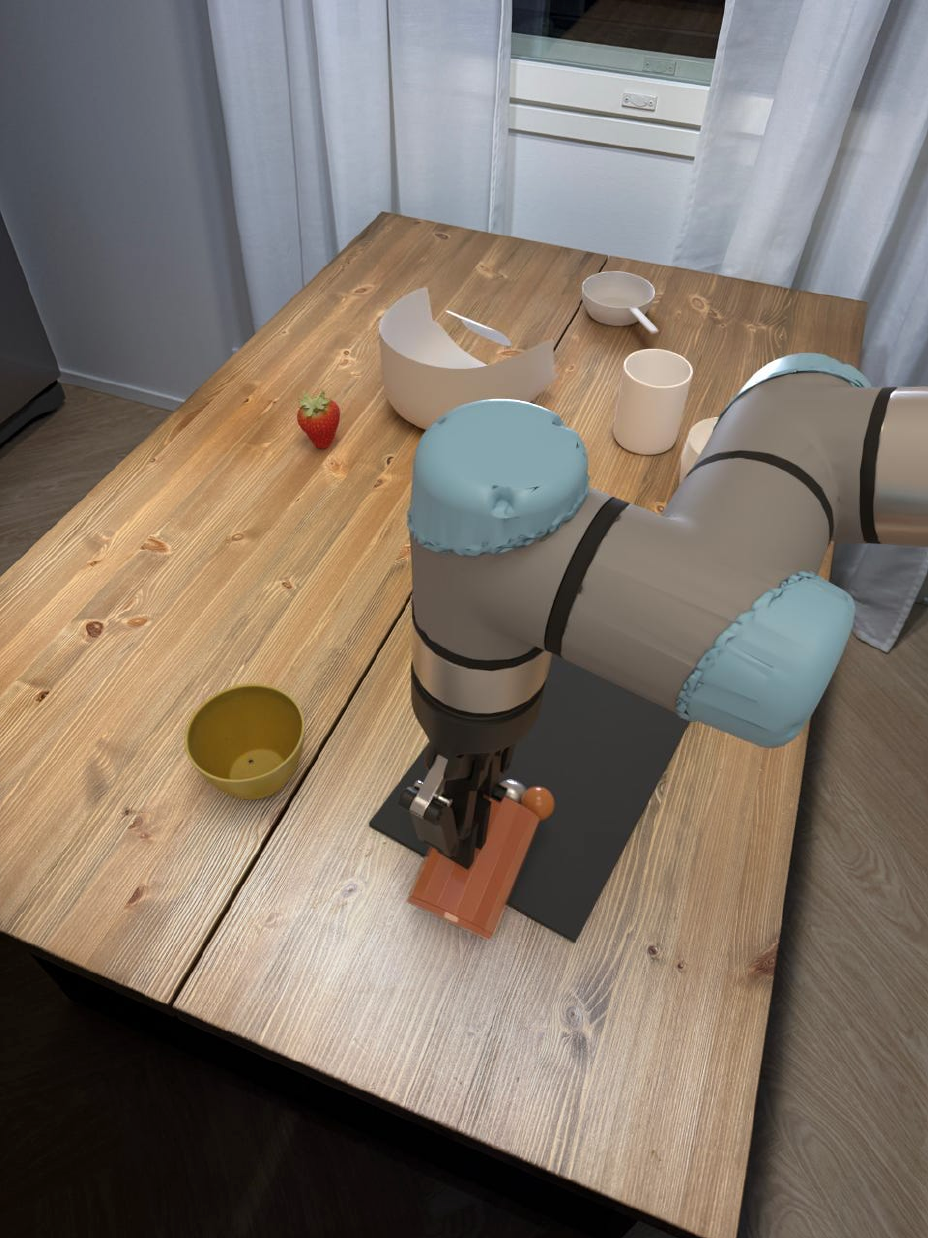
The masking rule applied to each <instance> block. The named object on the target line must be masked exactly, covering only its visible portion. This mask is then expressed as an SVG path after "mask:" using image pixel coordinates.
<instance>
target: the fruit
mask: <svg viewBox="0 0 928 1238" xmlns="http://www.w3.org/2000/svg"><path fill="white" fill-rule="evenodd" d="M302 395H303V396H304V399H305V400H302V398H300V396H298V398H297V399H298V400H297V402H298V404H299V405H300V406H299V405H298V406H297V407H298V411H297V412H296V419H297V424H298V426H299V427H300V429H301V430H302V431H303V432H304V433H305V434H306V435H307V437H308V438H309V440H310V442H311V443H312V444H313V445H314V446H315V448H317V449H321V450H323V449H327V448H329V447H330V446H331V445H332V443H333V441H334V439H335V437H336V433H337V431H338V427H339V424H340V418H341V409H340V406H339V405H338V403H336V401H334V400H333V399H332V397H329V398H328V397H325V396H326V393H325V391H324V390H323V389H321V392H320V393H319V395H317V396H315V397H311V396H310V394H308V392H307V391H305V389H304V388H303V389H302Z"/></svg>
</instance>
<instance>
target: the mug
mask: <svg viewBox="0 0 928 1238" xmlns="http://www.w3.org/2000/svg"><path fill="white" fill-rule="evenodd" d="M693 375H694V370H693V366H692V365H691V363H690V362H689V360H687V359H686V358H685V357H684V356H682V355H680V354H678V353H676V352H673V351H671V350H665V349H660V348H647V349H640V350H637V351H634V352H632V353H630V354H629V355H628V356H626V358H625V360H624V362H623V367H622V372H621V378H620V384H619V390H618V395H617V402H616V406H615V412H614V418H613V425H612V435H613V438H614V440H615V441H616V443H618V445H619V446H621V448H623V449H624V450H626V451H628V452H630V453H632V454H637V455H640V456H641V455H643V456H656V455H659V454H663V453H665V452H667V451H669V450H670V449H671V448H672V447H673V446H674V445H675V443H676V442H677V439H678V437H679V436H678V435H679V432H680V429H681V426H682V425H681V424H682V421H683V416H684V411H685V408H686V403H687V399H688V395H689V391H690V387H691V383H692V378H693Z"/></svg>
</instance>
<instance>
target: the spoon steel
mask: <svg viewBox="0 0 928 1238" xmlns="http://www.w3.org/2000/svg"><path fill="white" fill-rule="evenodd" d="M500 784H501V785H502V786H504V787H506V788H508V790H507V793H506V795H505V797H507V798H509V799H511V800H513V801H515V802H517V803H519V804H520V805H521V798H522V796H523V794H524V792H525V791H526V788H525V786H524V785H523V784H522V783H521V782H519V781H517V780H512V779H510V780H505V781H503V782H502V783H500Z"/></svg>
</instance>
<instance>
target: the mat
mask: <svg viewBox="0 0 928 1238" xmlns="http://www.w3.org/2000/svg"><path fill="white" fill-rule="evenodd" d="M690 723H691V722H690V721H687V720H686V719H683V718H680V717H679V715H678V714H677V713H675V712H673V711H671V710H669V709H667V708H664V707H662V706H660V705H658V704H656V703H654V702H652V701H650V700H648V699H646V698H644V697H642V696H640V695H637V694H635V693H633V692H631V691H629V690H627V689H625V688H623V687H621V686H619V685H617V684H615V683H612V682H610V681H608V680H606V679H604V678H602V677H600V676H598V675H596V674H594V673H592V672H590V671H588V670H585V669H583V668H581V667H579V666H577V665H575V664H573V663H571V662H569V661H567V660H565V659H563V658H561V657H559V656H557V655H555V654H553V653H552V657H551V663H550V668H549V671H548V675H547V678H546V683H545V688H544V693H543V698H542V703H541V708H540V712H539V715H538V718H537V720H536V722H535V724H534V725H533V727H532V728H531V730H530V731H529V732H528V733H527V734H526V735H525V736H524V737H523V738H522V739H521V740H519V741H518V742H516V745H515V749H514V752H513V756H512V760H511V763H510V764H511V766H510V768H509V770H507V771H506V772H505V773H504V774H503V773H501V772H500V774H499V784H500V783H502V782H503V781H505V780H510V779H512V780H517V781H519V782H521V783H522V784H523V785H524V786H525V788H526V790H528V789H529V788H531V787H535V786H540V787H544V788H546V789H547V790H549V791H550V792H551V794H552V795H553V797H554V801H555V807H554V810H553V812H552V814H551V815H550V816H549V817H548V818H547V819H545V820H542V821H540V824H539V826H538V829H537V831H536V834H535V836H534V839H533V841H532V844H531V846H530V848H529V851H528V853H527V856H526V858H525V861H524V863H523V866H522V868H521V871H520V873H519V876H518V878H517V880H516V883H515V885H514V888H513V890H512V893H511V895H510V898H509V900H508V903H507V905H506V906H509V907H510V908H512V909H514V911H517V912H519V913H520V914H523V915H524V916H526V917H528V918H530V919H531V920H532V921H535V922H536V923H538V924H540V925H542V926H543V927H546V929H549V930H550V931H552V932H554V933H555V934H557V935H559V936H561V937H562V938H564V939H566V940H568V941H569V942H572V943H573V944H576V942H577V941H578V938H579V936H580V935H581V933H582V931H583V929H584V927H585V925H586V923H587V921H588V919H589V918H590V916H591V913H592V911H593V910H594V908H595V906H596V904H597V902H598V900H599V899H600V896H601V894H602V893H603V891H604V888H605V887H606V885H607V883H608V881H609V879H610V877H611V875H612V873H613V871H614V869H615V867H616V865H617V864H618V862H619V860H620V858H621V855H622V854H623V852H624V850H625V848H626V846H627V844H628V843H629V841H630V839H631V836H632V835H633V833H634V831H635V829H636V827H637V826H638V823H639V821H640V819H641V817H642V815H643V813H644V812H645V810H646V808H647V806H648V803H649V802H650V800H651V798H652V796H653V795H654V792H655V790H656V788H657V786H658V785H659V783H660V781H661V779H662V777H663V775H664V773H665V771H666V769H667V768H668V766H669V763H670V762H671V759H672V758H673V756H674V753H675V752H676V750H677V748H678V746H679V744H680V743H681V740H682V738H683V737H684V734H685V732H686V731H687V729H688V727H689V725H690ZM428 744H429V742H428V743H427V744H426V745H425V747H424V748H423V750H422V751H421V752H420V753H419V754H418V756H417V758H416V759H415V760H414V761H413V763H412V764H411V766H410V767H409V768H408V769H407V770H406V772H405V774H404V775H403V776H402V778H401V779H400V780H399V781H398V782H397V784H396V785H395V787H394V789H392V791H391V793H390V794H389V795H388V796H387V798H386V799H385V800H384V802H383V803H382V804H381V806H380V807H379V809H377V812H376V813H375V814H374V815H373V816H372V818H371V819H370V821H368V826H369V827H370V828H372V829H374V830H376V831H377V832H379V833H381V834H382V835H384V836H386V837H388V838H389V839H391V840H393V841H395V842H397V843H398V844H400V845H402V846H403V847H405V848H407V849H409V850H411V851H412V852H414V853H416V854H417V855H419V856H421V857H423V858H425V856H426V854H427V852H428V849H429V847H430V846H429V845H428V844H426V843H424V842H423V841H421V840H419V839H418V836H417V833H416V830H415V827H414V824H413V821H412V818H411V815H410V812H409V811H408V810H406V809H405V808H403V807H401V806H399V800H400V796H401V794H402V792H403V791H404V790H405V789H406V788H408V787H413V786H414V784H415V782H416V781H417V780H419V781H421V782H424V780H425V778H426V776H427V774H428V773H429V770H428V769H427V768H426V766H425V762H424V758H425V753H426V750H427V747H428Z"/></svg>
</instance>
